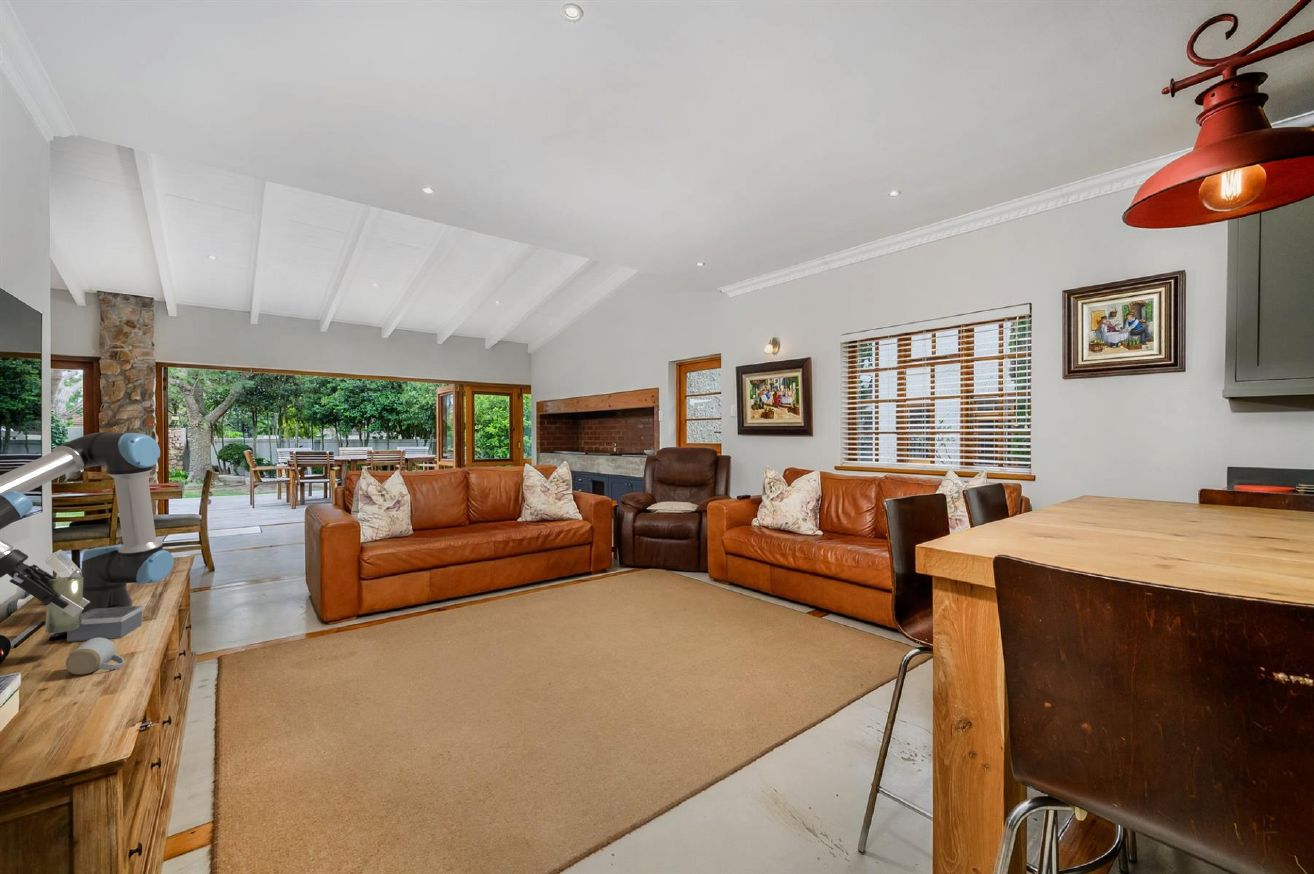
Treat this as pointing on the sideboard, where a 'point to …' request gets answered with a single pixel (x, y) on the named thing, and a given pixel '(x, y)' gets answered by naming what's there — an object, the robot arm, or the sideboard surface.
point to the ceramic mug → (93, 657)
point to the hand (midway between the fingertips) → (81, 609)
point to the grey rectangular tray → (107, 623)
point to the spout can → (71, 591)
